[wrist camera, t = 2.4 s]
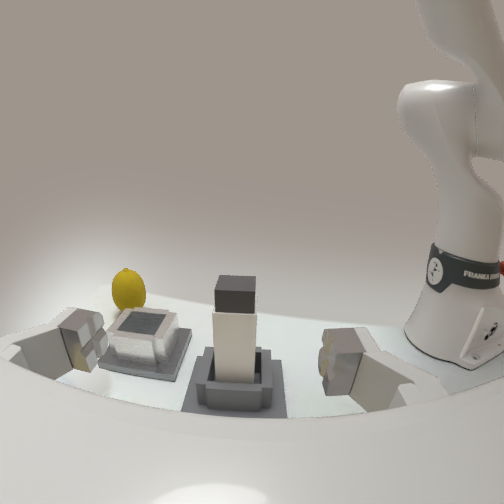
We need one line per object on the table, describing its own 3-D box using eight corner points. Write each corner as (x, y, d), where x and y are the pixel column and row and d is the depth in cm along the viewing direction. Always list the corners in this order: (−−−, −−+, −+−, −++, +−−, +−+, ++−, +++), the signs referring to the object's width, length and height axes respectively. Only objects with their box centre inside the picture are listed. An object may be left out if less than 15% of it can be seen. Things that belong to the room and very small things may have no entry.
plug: (253, 376, 29) (257, 275, 25) (253, 399, 25) (257, 292, 22) (220, 375, 29) (217, 274, 25) (216, 397, 25) (211, 290, 22)
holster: (280, 366, 32) (283, 339, 31) (286, 429, 22) (291, 402, 21) (197, 362, 32) (195, 335, 31) (180, 422, 22) (174, 396, 21)
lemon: (133, 304, 45) (127, 260, 43) (155, 312, 43) (150, 266, 41) (109, 316, 40) (101, 270, 38) (131, 327, 38) (123, 277, 36)
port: (191, 334, 38) (189, 307, 36) (174, 381, 28) (169, 350, 27) (128, 327, 38) (123, 301, 37) (99, 367, 28) (90, 338, 27)
